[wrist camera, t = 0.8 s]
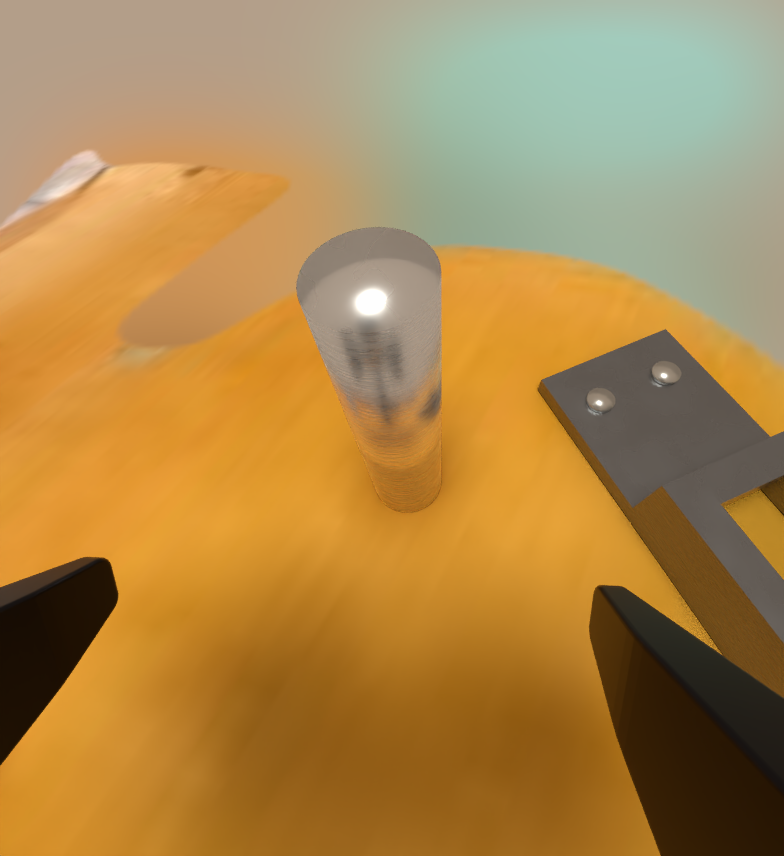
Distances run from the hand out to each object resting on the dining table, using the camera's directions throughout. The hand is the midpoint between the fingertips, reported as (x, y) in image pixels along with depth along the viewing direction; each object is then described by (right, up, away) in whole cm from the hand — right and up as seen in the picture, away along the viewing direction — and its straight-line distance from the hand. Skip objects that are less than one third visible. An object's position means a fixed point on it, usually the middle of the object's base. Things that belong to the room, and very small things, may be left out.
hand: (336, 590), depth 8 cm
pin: (+2, 0, +15) cm, 15 cm away
